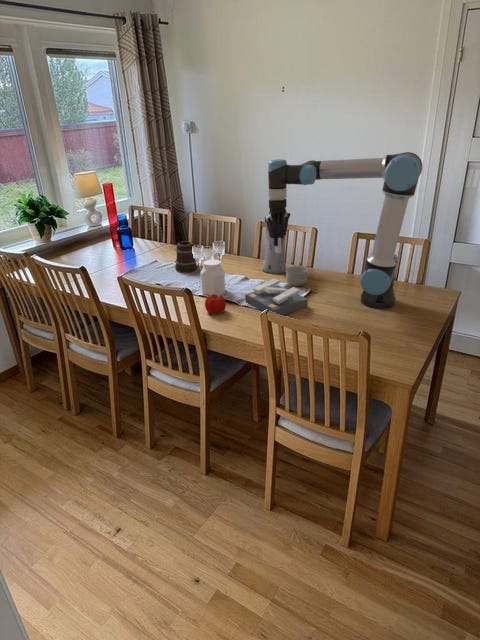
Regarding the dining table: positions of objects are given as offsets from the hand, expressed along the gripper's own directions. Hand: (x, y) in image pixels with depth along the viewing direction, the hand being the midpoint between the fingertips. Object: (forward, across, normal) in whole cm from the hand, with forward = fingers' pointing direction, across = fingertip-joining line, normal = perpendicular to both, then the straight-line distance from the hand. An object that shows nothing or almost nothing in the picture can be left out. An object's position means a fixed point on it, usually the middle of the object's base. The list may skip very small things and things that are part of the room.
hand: (278, 252), depth 196 cm
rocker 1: (+15, +5, -2) cm, 16 cm away
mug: (+21, +11, -64) cm, 68 cm away
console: (+22, +5, +4) cm, 23 cm away
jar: (+22, +19, -26) cm, 39 cm away
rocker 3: (+16, +6, +12) cm, 20 cm away
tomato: (+22, +31, -6) cm, 38 cm away
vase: (+22, -23, -30) cm, 44 cm away
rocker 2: (+15, +5, +5) cm, 17 cm away
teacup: (+23, -20, -9) cm, 32 cm away
